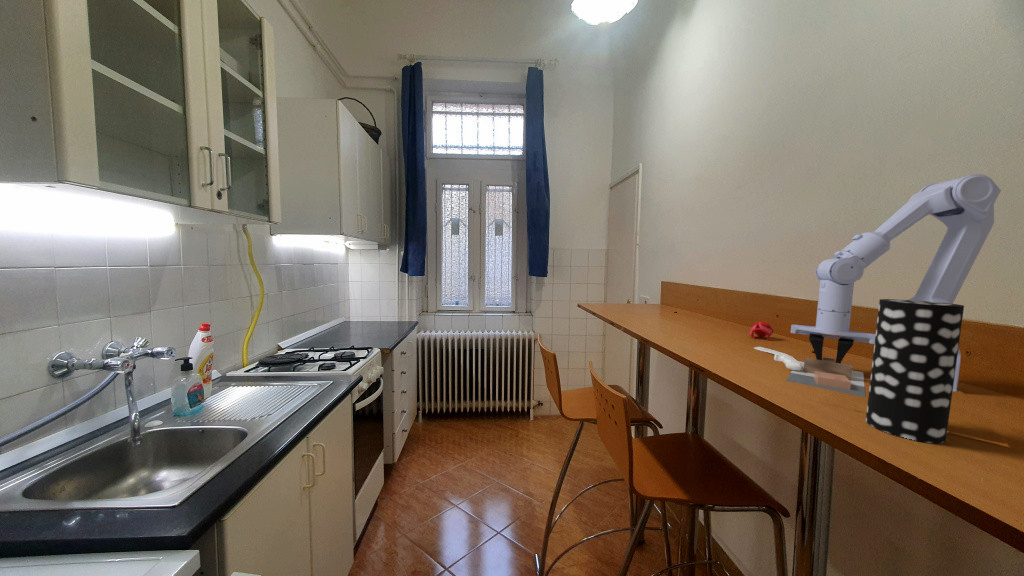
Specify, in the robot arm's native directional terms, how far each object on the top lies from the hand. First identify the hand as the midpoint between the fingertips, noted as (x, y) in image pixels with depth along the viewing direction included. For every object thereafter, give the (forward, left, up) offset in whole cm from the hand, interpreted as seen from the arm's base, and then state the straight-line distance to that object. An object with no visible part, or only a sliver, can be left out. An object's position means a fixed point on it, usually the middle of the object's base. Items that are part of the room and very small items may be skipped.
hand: (827, 368), depth 81 cm
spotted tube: (-10, +28, -2) cm, 30 cm away
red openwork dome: (+18, -35, -2) cm, 40 cm away
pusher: (0, 0, -1) cm, 1 cm away
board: (0, +4, -1) cm, 4 cm away
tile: (-1, +10, -1) cm, 10 cm away
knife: (+12, -8, -1) cm, 14 cm away
